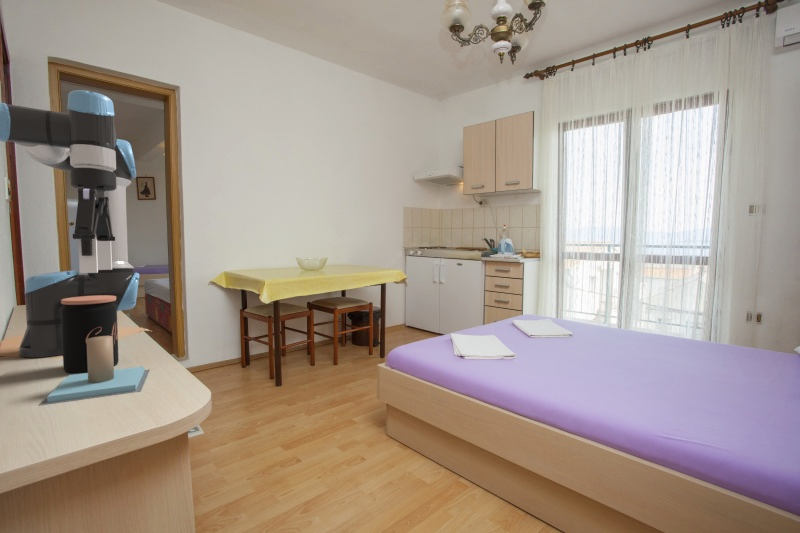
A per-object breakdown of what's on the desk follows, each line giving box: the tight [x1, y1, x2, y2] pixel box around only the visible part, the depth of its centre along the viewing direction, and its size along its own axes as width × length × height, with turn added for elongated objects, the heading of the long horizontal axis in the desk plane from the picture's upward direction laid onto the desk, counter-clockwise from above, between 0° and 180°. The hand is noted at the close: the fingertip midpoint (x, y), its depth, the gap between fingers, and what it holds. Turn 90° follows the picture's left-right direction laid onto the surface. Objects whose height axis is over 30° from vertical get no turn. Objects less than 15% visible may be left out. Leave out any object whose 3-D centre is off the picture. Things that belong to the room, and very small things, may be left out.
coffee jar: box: [61, 295, 120, 375], centre depth 95 cm, size 11×11×18 cm
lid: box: [46, 336, 146, 403], centre depth 83 cm, size 14×14×10 cm
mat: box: [38, 369, 151, 407], centre depth 83 cm, size 16×16×1 cm
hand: (97, 271), depth 82 cm, fingers open, 13 cm apart
